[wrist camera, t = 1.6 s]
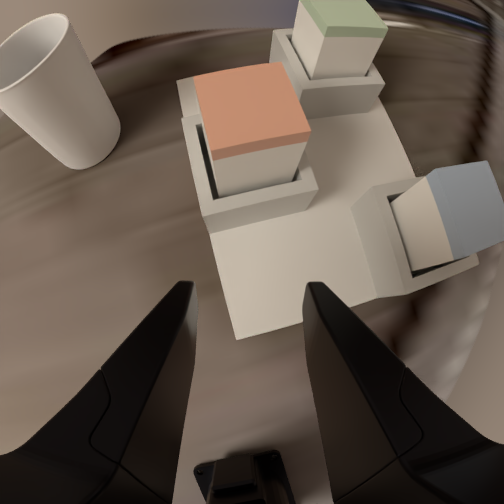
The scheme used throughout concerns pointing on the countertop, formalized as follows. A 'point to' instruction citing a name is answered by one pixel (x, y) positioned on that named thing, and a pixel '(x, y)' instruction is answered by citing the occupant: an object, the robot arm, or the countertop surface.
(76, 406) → the robot arm
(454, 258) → the key slate
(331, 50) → the key sage
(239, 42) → the countertop surface
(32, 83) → the mug
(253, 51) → the countertop surface
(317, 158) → the keypad
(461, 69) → the countertop surface
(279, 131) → the key terracotta
